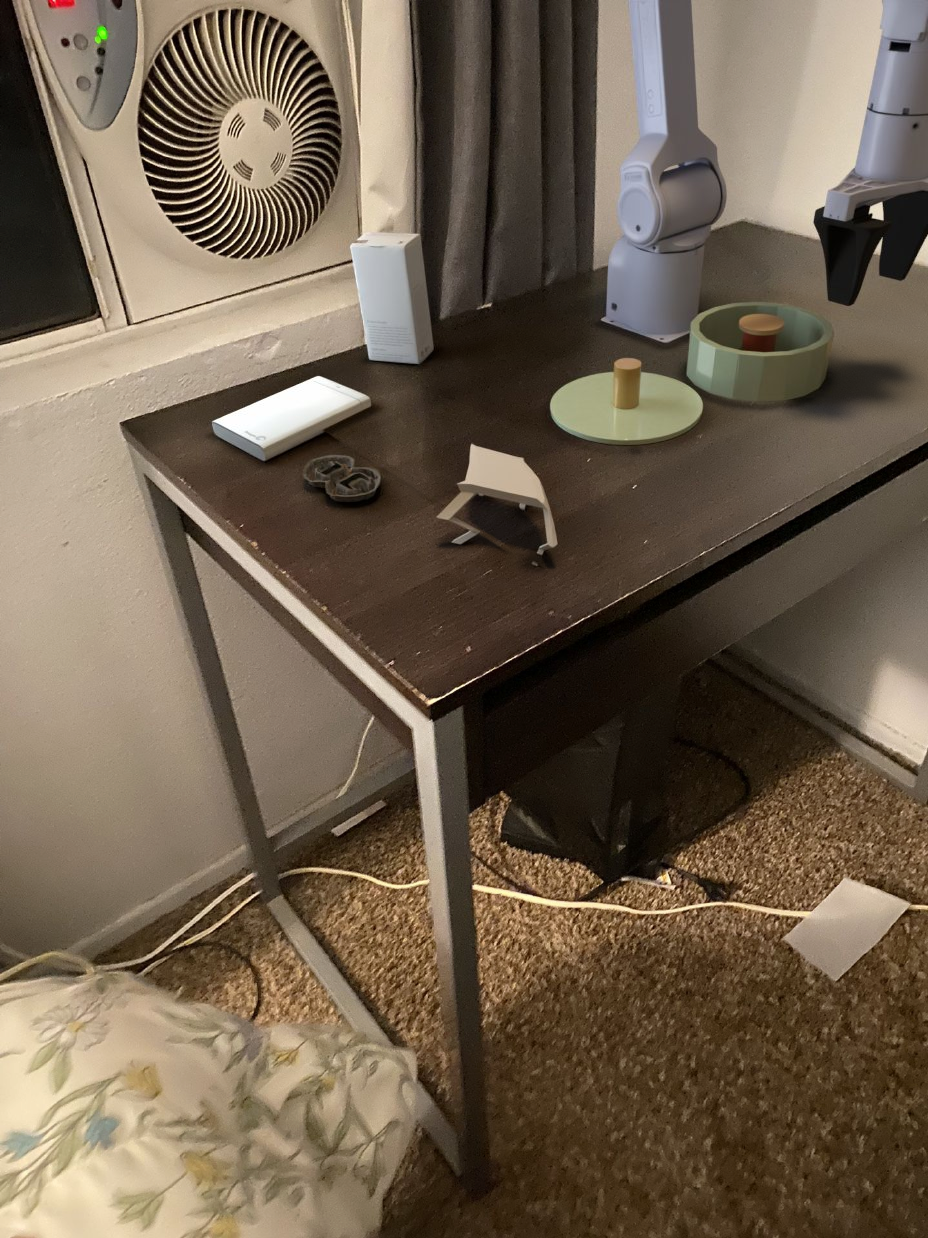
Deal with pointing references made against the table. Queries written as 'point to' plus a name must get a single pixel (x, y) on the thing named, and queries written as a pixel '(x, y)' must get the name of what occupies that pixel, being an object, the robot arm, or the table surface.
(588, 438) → the lid
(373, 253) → the cosmetic box
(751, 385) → the tin
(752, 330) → the spool
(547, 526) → the beige angled stand
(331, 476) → the corroded twin loop
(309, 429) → the hard drive
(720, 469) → the table surface
